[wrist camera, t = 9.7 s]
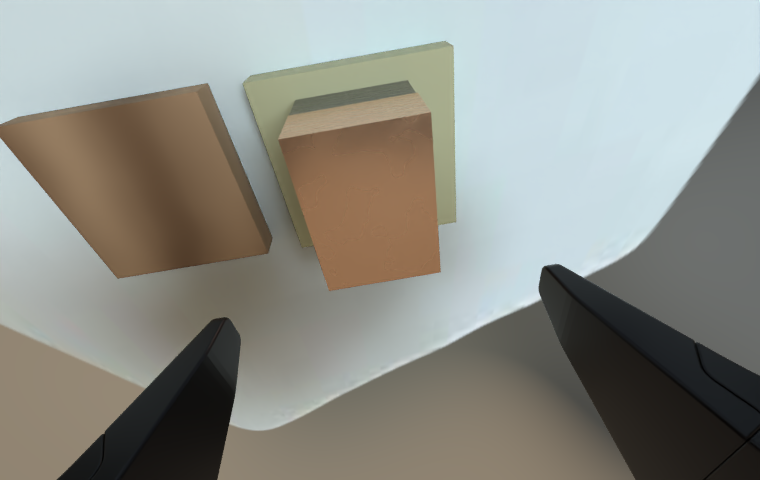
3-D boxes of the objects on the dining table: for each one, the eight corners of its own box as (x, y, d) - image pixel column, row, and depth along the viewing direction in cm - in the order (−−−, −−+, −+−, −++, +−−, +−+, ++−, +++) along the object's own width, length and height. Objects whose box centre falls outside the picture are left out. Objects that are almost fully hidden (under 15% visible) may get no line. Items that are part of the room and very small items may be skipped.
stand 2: (304, 232, 21) (302, 247, 20) (250, 75, 16) (242, 83, 15) (449, 208, 21) (455, 222, 20) (444, 41, 16) (453, 45, 14)
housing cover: (429, 238, 17) (440, 272, 15) (330, 255, 17) (329, 290, 15) (417, 92, 13) (431, 112, 11) (287, 115, 13) (277, 139, 11)
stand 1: (130, 262, 21) (117, 278, 20) (18, 116, 16) (-8, 128, 15) (272, 238, 21) (268, 253, 20) (207, 83, 16) (196, 91, 15)
